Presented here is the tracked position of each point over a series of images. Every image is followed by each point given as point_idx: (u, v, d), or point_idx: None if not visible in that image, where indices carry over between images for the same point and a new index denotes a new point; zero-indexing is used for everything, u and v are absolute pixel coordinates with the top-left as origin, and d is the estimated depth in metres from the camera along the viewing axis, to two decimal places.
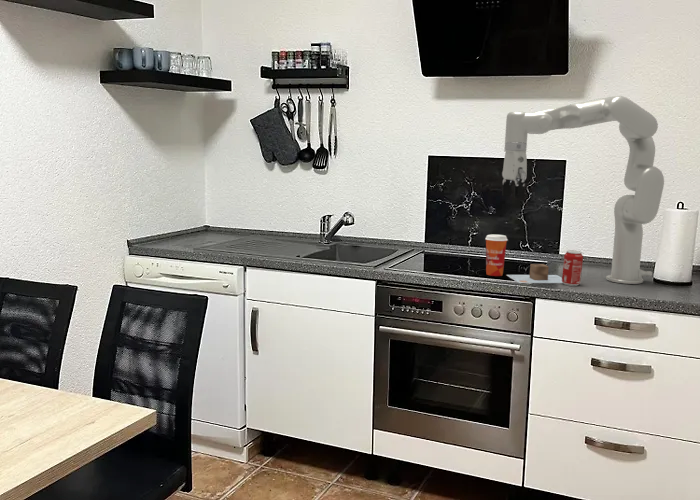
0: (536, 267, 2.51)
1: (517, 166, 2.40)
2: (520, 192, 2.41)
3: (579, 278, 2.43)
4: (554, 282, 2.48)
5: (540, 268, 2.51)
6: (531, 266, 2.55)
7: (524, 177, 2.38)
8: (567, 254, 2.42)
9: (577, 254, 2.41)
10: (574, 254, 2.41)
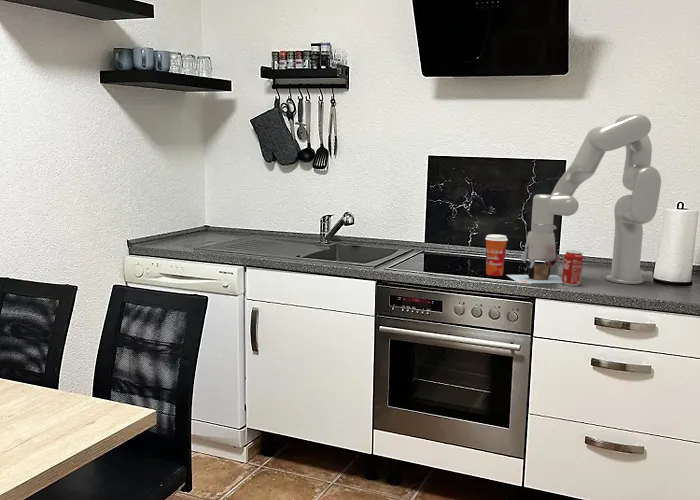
0: (536, 267, 2.51)
1: None
2: None
3: (579, 278, 2.43)
4: (554, 282, 2.48)
5: (540, 268, 2.51)
6: None
7: None
8: (567, 254, 2.42)
9: (577, 254, 2.41)
10: (574, 254, 2.41)
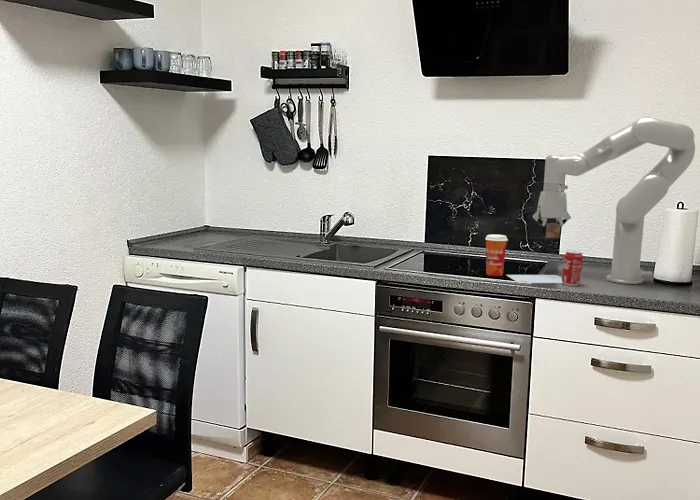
0: (548, 225, 2.61)
1: None
2: None
3: (579, 278, 2.43)
4: (554, 282, 2.48)
5: (552, 226, 2.61)
6: None
7: None
8: (567, 254, 2.42)
9: (577, 254, 2.41)
10: (574, 254, 2.41)
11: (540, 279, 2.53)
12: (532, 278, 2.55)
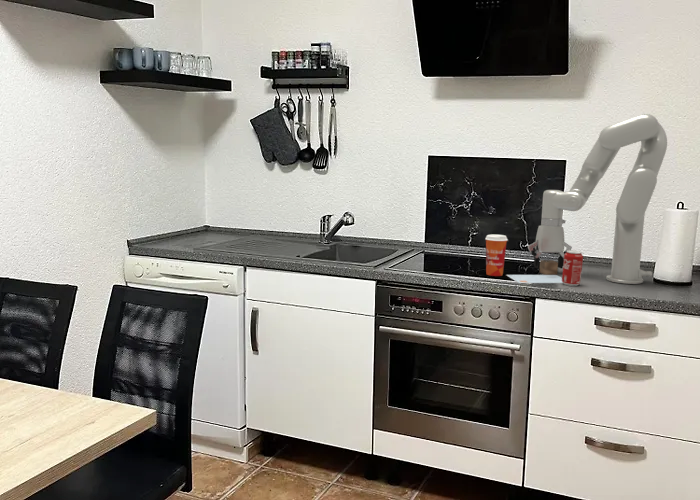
0: (546, 263, 2.63)
1: None
2: None
3: (579, 278, 2.43)
4: (554, 282, 2.48)
5: (550, 264, 2.63)
6: (541, 262, 2.66)
7: None
8: (567, 254, 2.42)
9: (577, 254, 2.41)
10: (574, 254, 2.41)
11: (540, 279, 2.53)
12: (532, 278, 2.55)
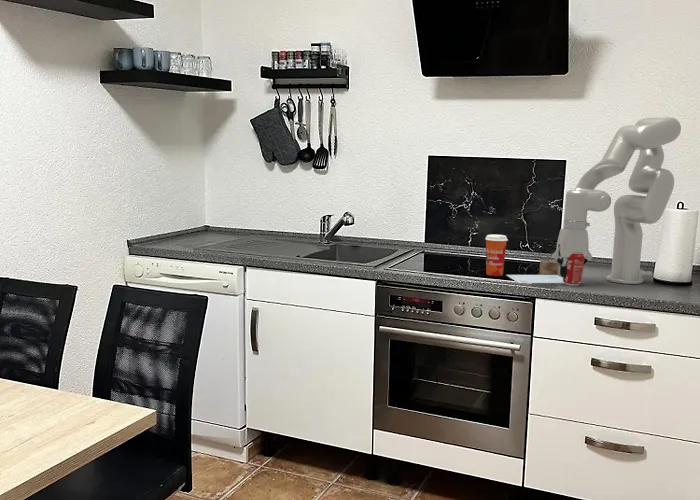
0: (546, 263, 2.63)
1: None
2: None
3: (580, 278, 2.43)
4: (554, 282, 2.48)
5: (550, 264, 2.63)
6: (541, 262, 2.66)
7: None
8: None
9: (579, 254, 2.41)
10: (576, 254, 2.41)
11: (540, 279, 2.53)
12: (532, 278, 2.55)
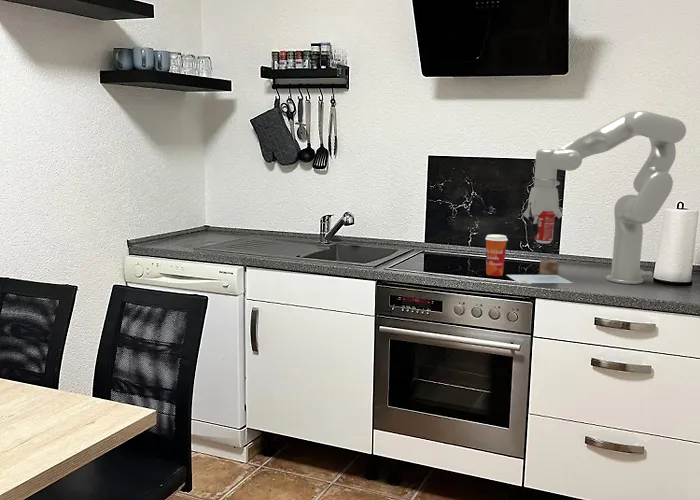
0: (546, 263, 2.63)
1: None
2: None
3: (551, 235, 2.50)
4: (554, 282, 2.48)
5: (550, 264, 2.63)
6: (541, 262, 2.66)
7: None
8: None
9: (549, 212, 2.48)
10: (546, 212, 2.48)
11: (540, 279, 2.53)
12: (532, 278, 2.55)
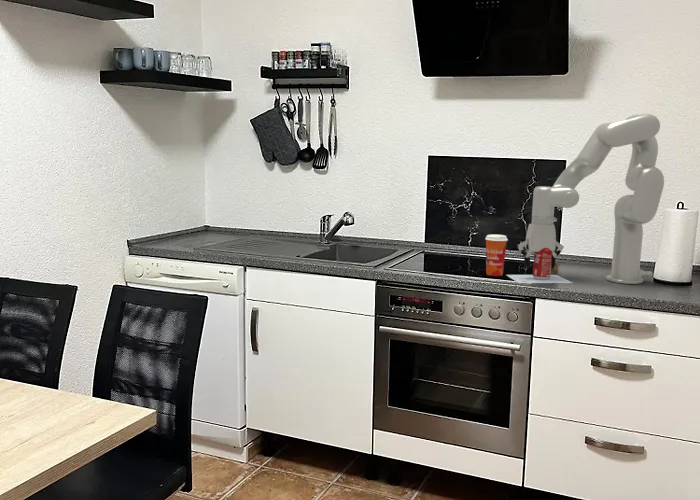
0: None
1: None
2: None
3: (549, 272, 2.52)
4: (554, 282, 2.48)
5: None
6: None
7: None
8: None
9: (547, 248, 2.50)
10: (544, 248, 2.50)
11: None
12: (532, 278, 2.55)
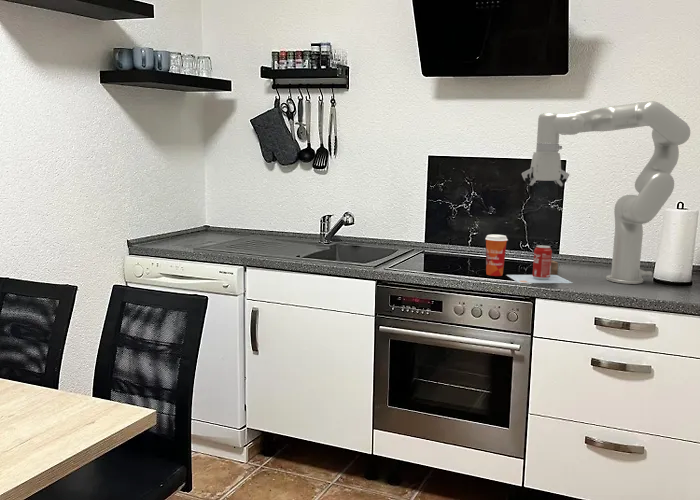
0: None
1: None
2: None
3: (549, 272, 2.52)
4: (554, 282, 2.48)
5: None
6: None
7: None
8: (536, 249, 2.52)
9: (546, 248, 2.50)
10: (543, 248, 2.50)
11: None
12: (532, 278, 2.55)
